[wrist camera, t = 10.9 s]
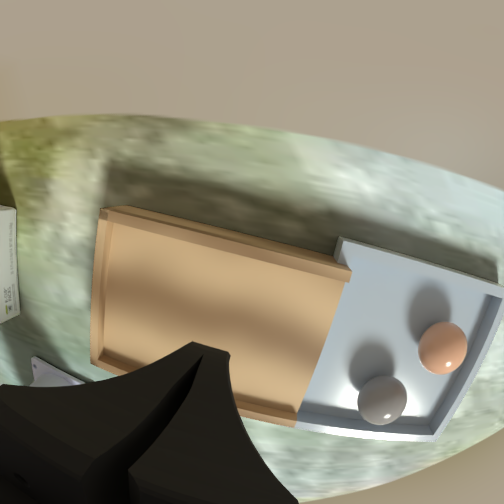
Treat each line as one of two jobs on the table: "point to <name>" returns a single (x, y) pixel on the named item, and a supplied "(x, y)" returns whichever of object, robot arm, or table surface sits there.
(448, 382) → the ceramic dish
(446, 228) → the table surface
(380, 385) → the pebble grey
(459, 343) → the pebble terracotta
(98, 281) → the oak tray
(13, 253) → the tea box
